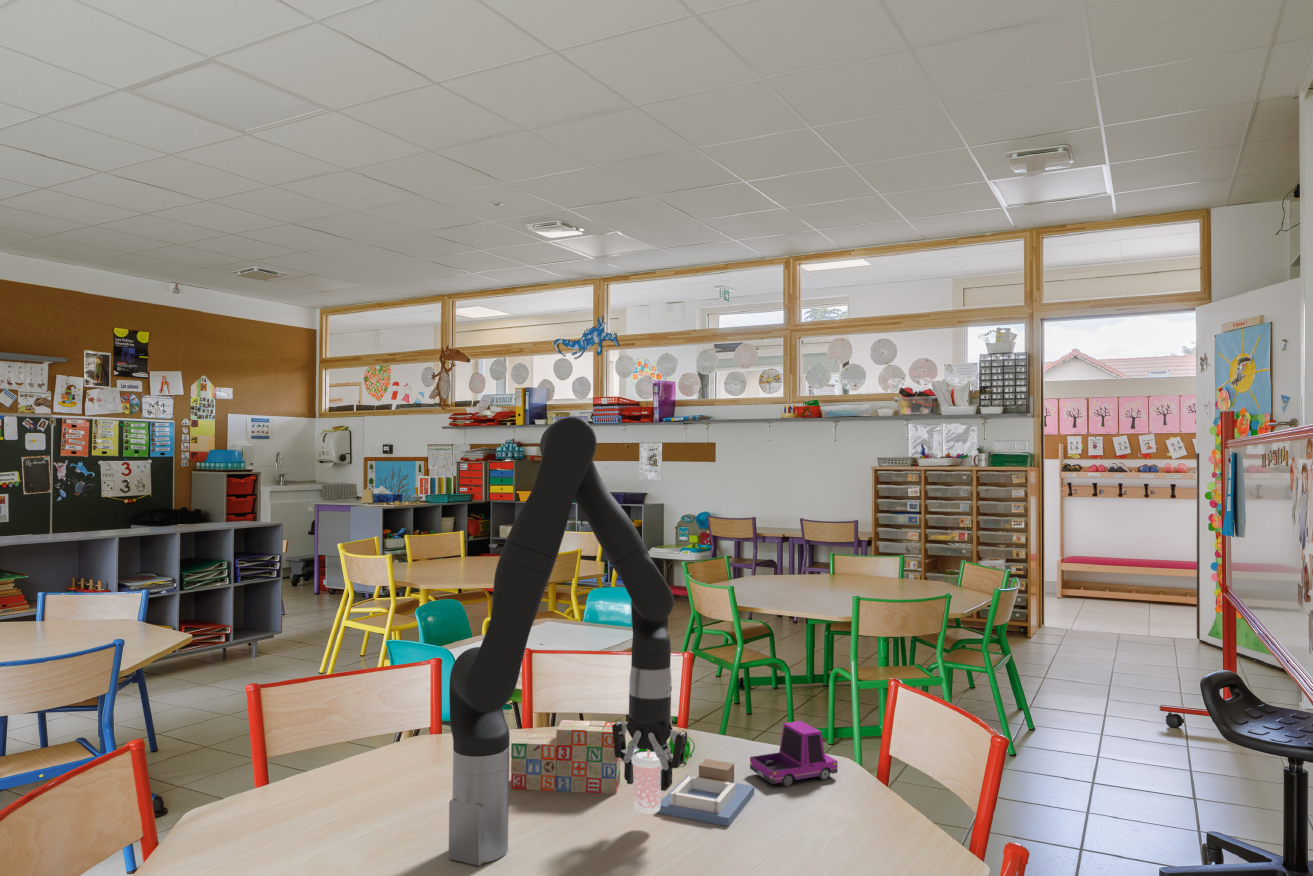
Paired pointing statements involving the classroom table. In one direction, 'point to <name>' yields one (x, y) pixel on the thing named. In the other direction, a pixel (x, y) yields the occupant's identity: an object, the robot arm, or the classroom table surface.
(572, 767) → the stack of blocks
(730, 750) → the classroom table surface
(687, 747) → the chandelier
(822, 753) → the toy truck
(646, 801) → the beverage cup
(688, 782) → the blue square tray
